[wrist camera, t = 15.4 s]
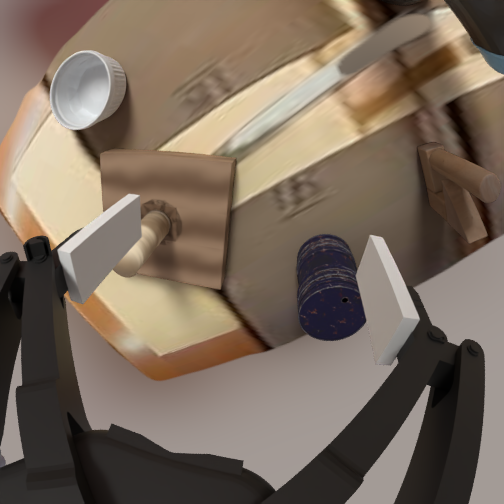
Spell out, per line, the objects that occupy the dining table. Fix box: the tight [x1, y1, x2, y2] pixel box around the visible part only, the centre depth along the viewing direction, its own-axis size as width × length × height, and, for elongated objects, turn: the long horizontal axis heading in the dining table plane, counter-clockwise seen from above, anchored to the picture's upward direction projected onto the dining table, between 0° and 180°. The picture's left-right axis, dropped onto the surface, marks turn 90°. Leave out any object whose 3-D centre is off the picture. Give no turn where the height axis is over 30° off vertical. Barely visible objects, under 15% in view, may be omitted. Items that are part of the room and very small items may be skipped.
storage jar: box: [297, 234, 367, 341], centre depth 44 cm, size 10×10×15 cm
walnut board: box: [100, 149, 236, 289], centre depth 48 cm, size 22×22×4 cm
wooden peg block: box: [417, 142, 501, 244], centre depth 33 cm, size 4×11×18 cm, turn 24°
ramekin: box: [50, 51, 126, 130], centre depth 36 cm, size 13×13×7 cm
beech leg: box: [113, 210, 171, 277], centre depth 42 cm, size 5×5×16 cm
